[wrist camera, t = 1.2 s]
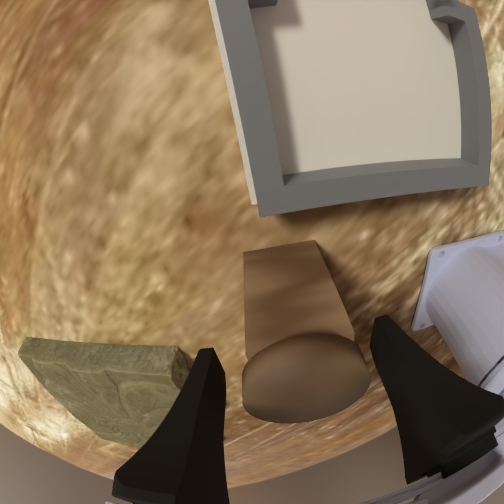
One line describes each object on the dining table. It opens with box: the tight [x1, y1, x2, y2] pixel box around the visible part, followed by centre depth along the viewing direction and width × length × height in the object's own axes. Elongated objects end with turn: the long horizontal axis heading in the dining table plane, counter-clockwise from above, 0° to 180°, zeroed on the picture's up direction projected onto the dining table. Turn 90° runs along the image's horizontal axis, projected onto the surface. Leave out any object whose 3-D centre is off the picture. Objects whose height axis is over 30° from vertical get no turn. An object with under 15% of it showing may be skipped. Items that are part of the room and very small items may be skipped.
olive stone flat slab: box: [18, 337, 190, 448], centre depth 24 cm, size 19×20×4 cm
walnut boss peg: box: [242, 240, 371, 423], centre depth 13 cm, size 5×5×8 cm
